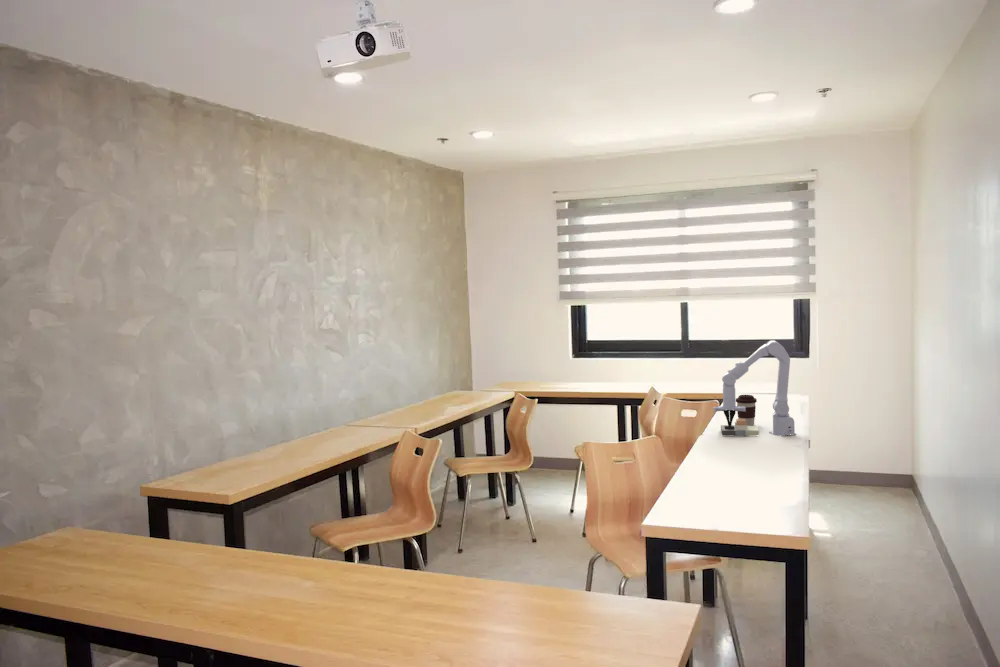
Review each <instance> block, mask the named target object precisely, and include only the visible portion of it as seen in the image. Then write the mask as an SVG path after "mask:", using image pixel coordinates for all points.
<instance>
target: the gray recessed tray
mask: <svg viewBox="0 0 1000 667" xmlns="http://www.w3.org/2000/svg"><path fill="white" fill-rule="evenodd" d="M720 432H721V435H734V436H733V437H747V436H746V433H745V430H736V427H735V424H732V425H731V426H728V424H727V425H726V424H720ZM735 435H736V436H735Z"/></svg>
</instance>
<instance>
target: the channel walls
mask: <svg viewBox="0 0 1000 667" xmlns="http://www.w3.org/2000/svg"><path fill="white" fill-rule="evenodd" d="M734 425H735V427H736V430H747V425H736V421H735V422H734Z"/></svg>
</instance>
